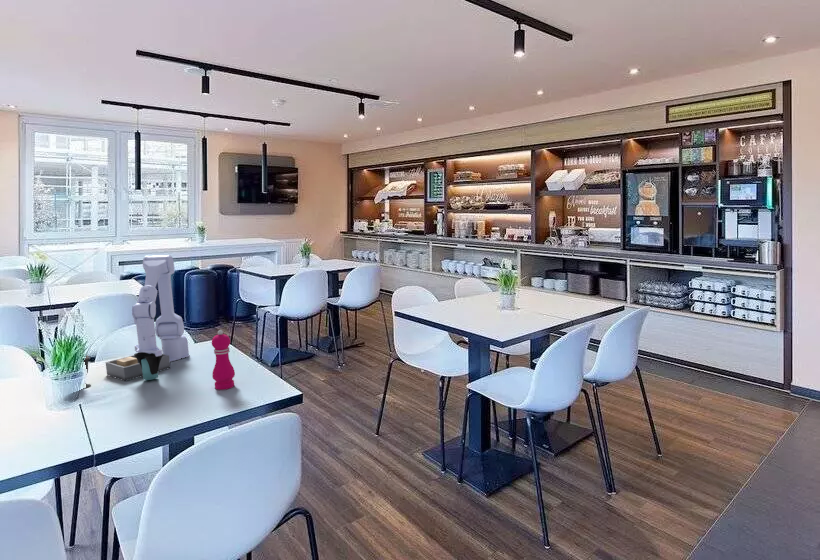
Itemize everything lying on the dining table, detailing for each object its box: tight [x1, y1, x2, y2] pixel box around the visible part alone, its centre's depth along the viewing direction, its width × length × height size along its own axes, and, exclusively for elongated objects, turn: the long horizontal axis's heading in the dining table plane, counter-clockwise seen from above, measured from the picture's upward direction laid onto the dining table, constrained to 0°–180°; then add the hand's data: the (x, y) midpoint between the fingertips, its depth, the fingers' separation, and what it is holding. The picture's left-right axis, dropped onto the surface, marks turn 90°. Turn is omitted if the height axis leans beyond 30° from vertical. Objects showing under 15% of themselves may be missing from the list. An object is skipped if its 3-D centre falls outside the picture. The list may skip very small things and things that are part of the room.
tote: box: [105, 354, 171, 382], centre depth 195 cm, size 17×13×5 cm
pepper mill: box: [211, 329, 236, 391], centre depth 175 cm, size 7×7×20 cm
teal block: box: [141, 358, 160, 381], centre depth 184 cm, size 5×5×7 cm
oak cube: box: [117, 356, 138, 367], centre depth 191 cm, size 5×5×5 cm
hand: (150, 372), depth 184 cm, fingers closed on teal block, 5 cm apart
